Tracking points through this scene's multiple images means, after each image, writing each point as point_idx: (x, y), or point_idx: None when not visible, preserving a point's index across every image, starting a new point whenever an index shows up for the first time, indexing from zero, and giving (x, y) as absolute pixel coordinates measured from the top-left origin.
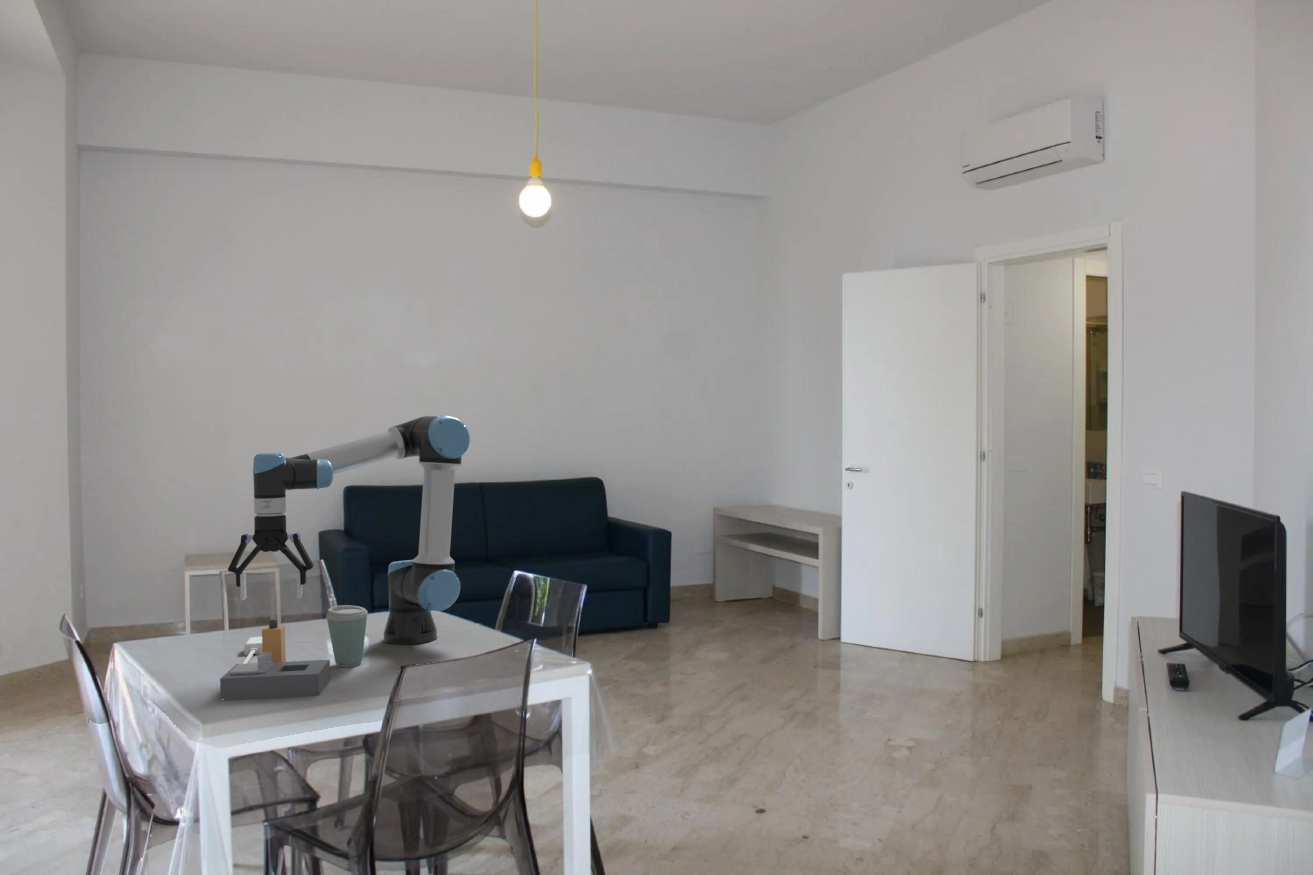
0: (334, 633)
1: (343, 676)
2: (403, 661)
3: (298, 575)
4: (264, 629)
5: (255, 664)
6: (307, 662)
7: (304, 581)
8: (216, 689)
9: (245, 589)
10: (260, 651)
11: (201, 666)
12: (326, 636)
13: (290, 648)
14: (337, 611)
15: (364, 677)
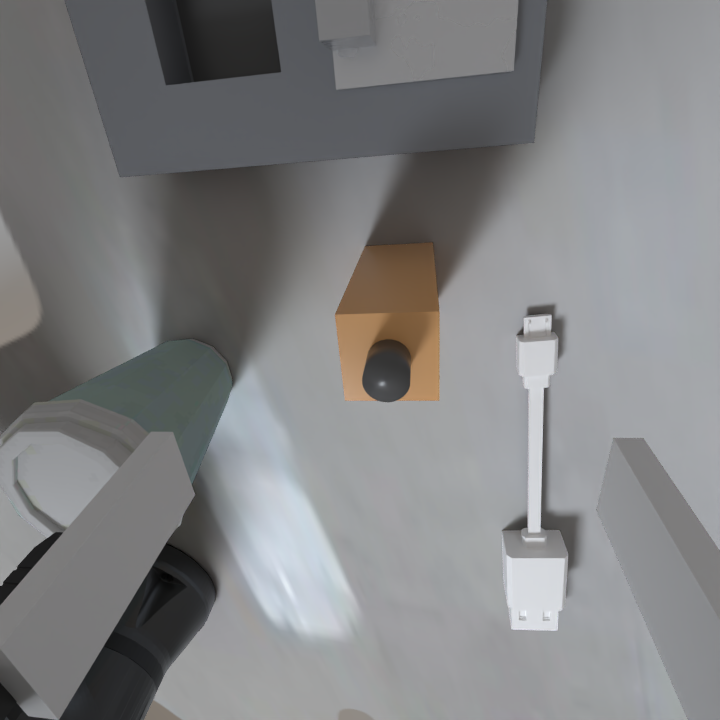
0: (155, 390)
1: (140, 213)
2: (48, 376)
3: (7, 609)
4: (426, 318)
5: (417, 43)
6: (194, 130)
7: (31, 557)
8: (594, 50)
9: (635, 561)
10: (513, 536)
11: (690, 430)
12: (374, 641)
13: (437, 564)
14: None
15: (58, 187)
